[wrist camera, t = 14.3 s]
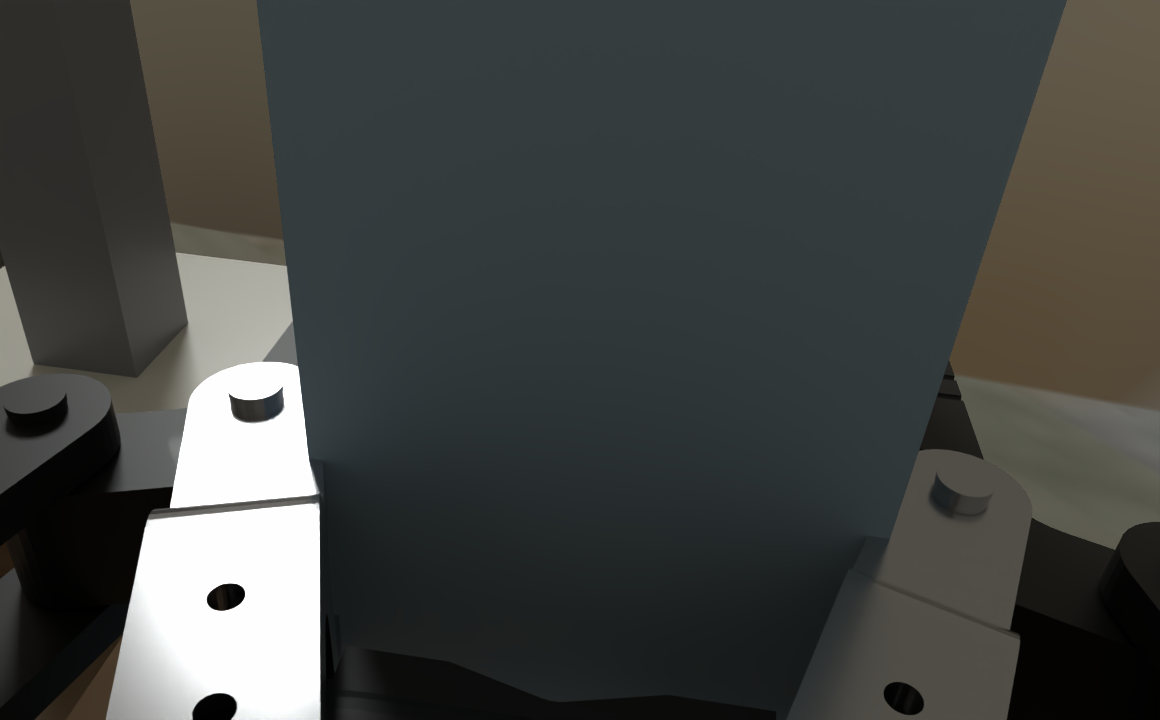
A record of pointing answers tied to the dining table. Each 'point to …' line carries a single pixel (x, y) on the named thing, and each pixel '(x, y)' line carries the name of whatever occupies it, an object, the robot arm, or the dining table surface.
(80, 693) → the board
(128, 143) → the lid
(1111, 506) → the dining table surface
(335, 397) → the block
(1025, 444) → the dining table surface
